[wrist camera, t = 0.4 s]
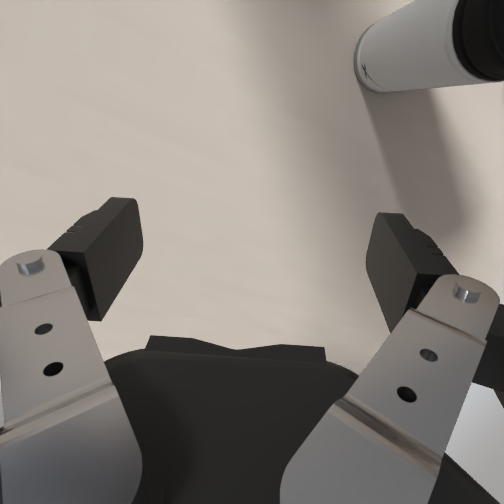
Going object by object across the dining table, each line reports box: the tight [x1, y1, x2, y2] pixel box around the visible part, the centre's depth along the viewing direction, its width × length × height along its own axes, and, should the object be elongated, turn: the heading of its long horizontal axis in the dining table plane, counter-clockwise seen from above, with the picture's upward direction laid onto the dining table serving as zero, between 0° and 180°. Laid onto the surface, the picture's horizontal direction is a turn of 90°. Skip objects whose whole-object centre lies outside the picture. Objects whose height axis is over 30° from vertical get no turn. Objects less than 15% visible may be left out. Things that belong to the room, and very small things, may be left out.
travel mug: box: [354, 0, 504, 92], centre depth 25 cm, size 6×7×20 cm
